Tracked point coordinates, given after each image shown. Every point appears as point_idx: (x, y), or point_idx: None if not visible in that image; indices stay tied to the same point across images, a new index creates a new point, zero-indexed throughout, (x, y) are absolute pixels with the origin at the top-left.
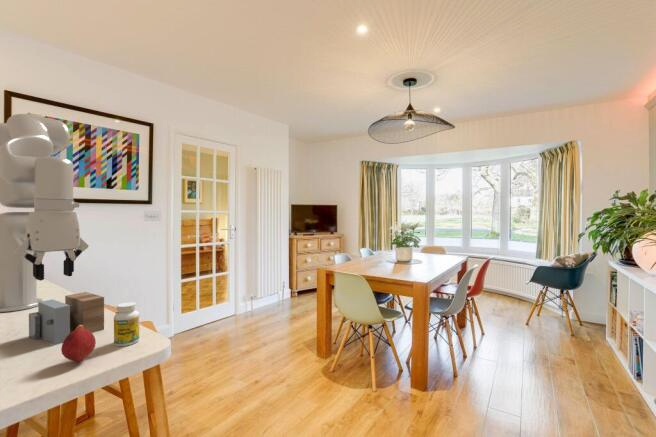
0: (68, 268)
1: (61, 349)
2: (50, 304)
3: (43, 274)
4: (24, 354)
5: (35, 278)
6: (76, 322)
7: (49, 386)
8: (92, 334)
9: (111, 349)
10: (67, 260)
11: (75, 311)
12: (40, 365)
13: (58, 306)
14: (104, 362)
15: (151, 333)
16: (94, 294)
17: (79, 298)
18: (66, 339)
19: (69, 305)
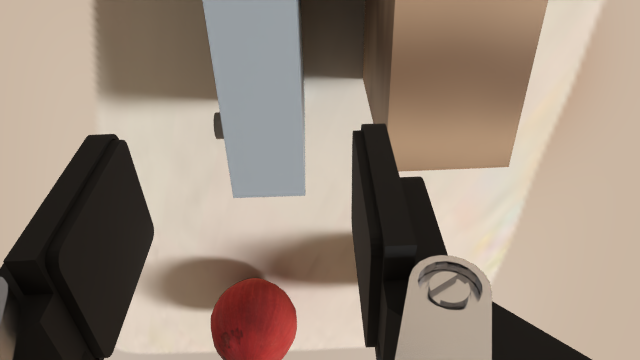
0: (359, 279)
1: (211, 318)
2: (238, 91)
3: (136, 272)
4: (151, 111)
5: (92, 138)
6: (370, 32)
7: (177, 339)
8: (286, 352)
9: (351, 269)
10: (380, 323)
11: (378, 42)
12: (179, 234)
13: (257, 172)
14: (298, 320)
15: (499, 247)
16: (533, 48)
17: (411, 85)
18: (217, 349)
19: (303, 195)
